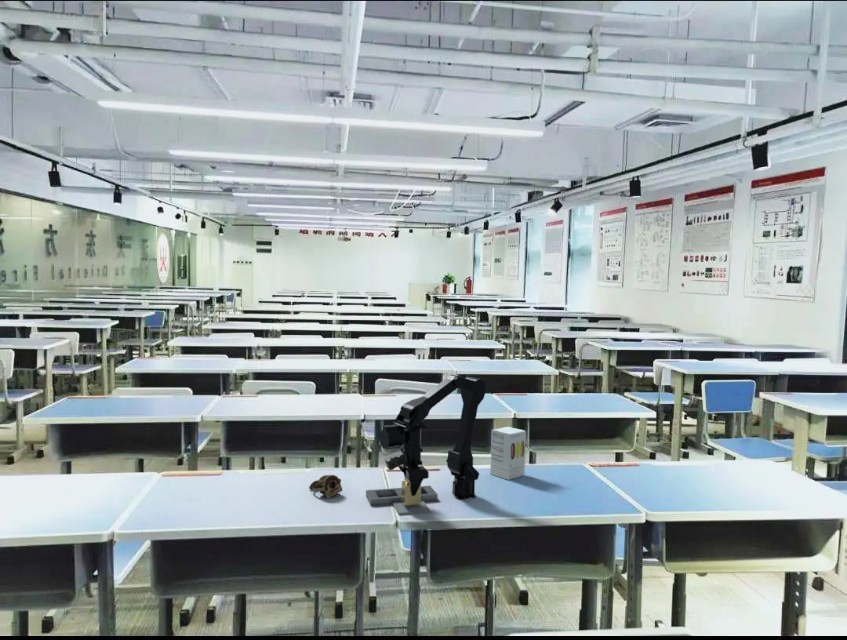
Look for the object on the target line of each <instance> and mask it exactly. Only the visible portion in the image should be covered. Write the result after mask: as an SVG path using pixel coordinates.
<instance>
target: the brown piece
mask: <svg viewBox="0 0 847 640" xmlns="http://www.w3.org/2000/svg"><path fill="white" fill-rule="evenodd" d="M341 482H342V479H341V478H339V477H338V476H337V475H335V474H328V475H327V474H326V475H322V476H320V477H319V479H317V480H314V481H312V482H311V483H310V485H309V487H308V489H309V490H312V491H313V492H319V493H320V494H321V495H324V496H326V499H329V498H332V497H333V496H335V495H336V494H339V493H341V492H342V491H343V487H342V485H341V484H342V483H341Z"/></svg>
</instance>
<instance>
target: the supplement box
mask: <svg viewBox="0 0 847 640" xmlns="http://www.w3.org/2000/svg"><path fill="white" fill-rule="evenodd" d="M526 435H527V432H526V430H524V429H520V428H515V427H511V426H505V427H500V428H494V429H491V436H490V440H491V441H490V443H491V444H490V466H489V467H490V469H489V471H490V472H489V473H490V474H489V475H492V476H496V477H499V478H502V479H504V480H505V479H506V480H508V481H510V480H513V479H516V478H519V477H522V476H525V473H526V472H525V470H526V467H525V466H526V441H527V440H526V439H527V437H526Z"/></svg>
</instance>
